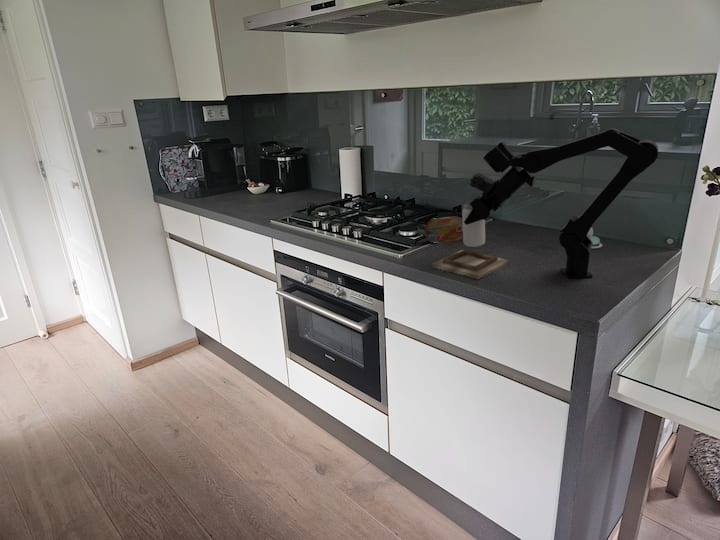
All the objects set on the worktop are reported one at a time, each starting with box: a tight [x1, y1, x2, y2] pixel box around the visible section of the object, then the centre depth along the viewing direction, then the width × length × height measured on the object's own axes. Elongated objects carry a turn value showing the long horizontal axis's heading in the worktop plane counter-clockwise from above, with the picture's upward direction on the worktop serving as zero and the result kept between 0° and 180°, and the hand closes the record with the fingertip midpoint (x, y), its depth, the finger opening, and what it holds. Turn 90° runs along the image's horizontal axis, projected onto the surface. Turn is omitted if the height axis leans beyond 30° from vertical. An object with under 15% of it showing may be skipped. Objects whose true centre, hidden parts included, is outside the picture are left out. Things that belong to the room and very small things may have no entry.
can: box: [461, 202, 486, 248], centre depth 145 cm, size 6×6×12 cm
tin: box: [424, 215, 463, 244], centre depth 166 cm, size 15×3×8 cm, turn 105°
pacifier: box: [586, 226, 603, 250], centre depth 155 cm, size 7×6×6 cm
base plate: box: [431, 249, 509, 280], centre depth 144 cm, size 16×16×2 cm
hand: (468, 220), depth 145 cm, fingers closed on can, 6 cm apart
